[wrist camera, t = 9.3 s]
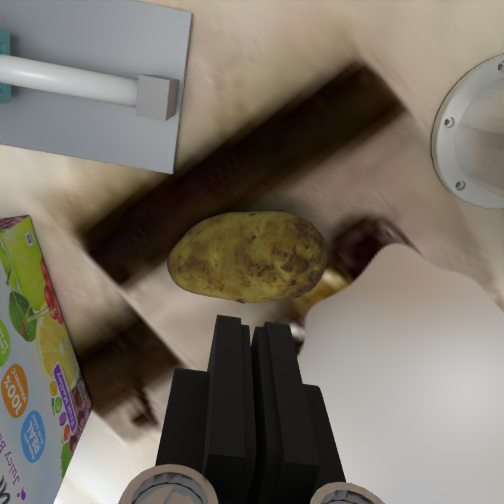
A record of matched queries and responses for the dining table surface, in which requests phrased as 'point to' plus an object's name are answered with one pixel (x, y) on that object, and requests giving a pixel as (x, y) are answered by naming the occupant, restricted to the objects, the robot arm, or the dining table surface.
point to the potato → (249, 257)
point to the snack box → (34, 374)
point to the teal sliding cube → (1, 45)
